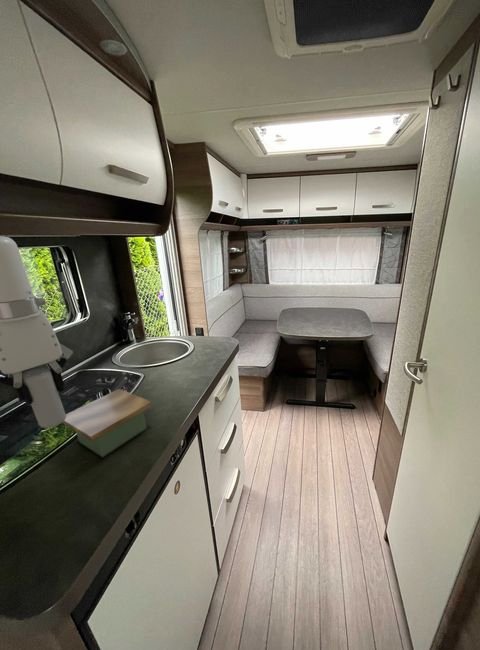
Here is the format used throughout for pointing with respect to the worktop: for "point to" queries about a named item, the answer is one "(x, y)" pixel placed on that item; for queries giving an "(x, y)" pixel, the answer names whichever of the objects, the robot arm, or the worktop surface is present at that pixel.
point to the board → (105, 414)
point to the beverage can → (44, 397)
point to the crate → (115, 436)
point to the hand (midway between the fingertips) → (43, 394)
